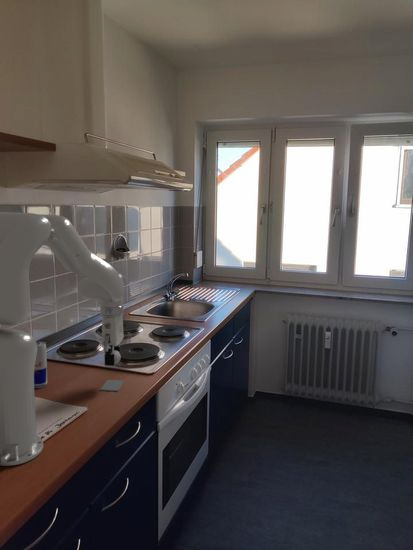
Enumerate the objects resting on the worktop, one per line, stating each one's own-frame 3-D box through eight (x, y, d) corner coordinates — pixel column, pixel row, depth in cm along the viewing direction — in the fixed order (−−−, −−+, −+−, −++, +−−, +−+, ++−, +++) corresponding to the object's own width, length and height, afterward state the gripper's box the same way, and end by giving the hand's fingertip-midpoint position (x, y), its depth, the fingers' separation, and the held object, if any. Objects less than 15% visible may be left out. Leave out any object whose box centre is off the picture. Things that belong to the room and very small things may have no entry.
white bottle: (29, 385, 146) (27, 343, 144) (43, 381, 150) (42, 340, 147) (35, 390, 142) (33, 347, 140) (50, 385, 146) (48, 343, 144)
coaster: (117, 391, 143) (117, 390, 143) (100, 390, 144) (100, 389, 144) (124, 381, 151) (124, 380, 151) (107, 380, 151) (107, 379, 151)
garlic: (107, 359, 149) (106, 345, 148) (122, 360, 149) (122, 346, 148) (102, 366, 143) (102, 351, 142) (118, 367, 143) (118, 352, 142)
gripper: (115, 317, 134) (116, 372, 137) (129, 304, 151) (129, 353, 154) (92, 316, 135) (93, 370, 138) (108, 303, 152) (109, 352, 155)
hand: (112, 361), depth 146 cm, fingers closed on garlic, 6 cm apart
